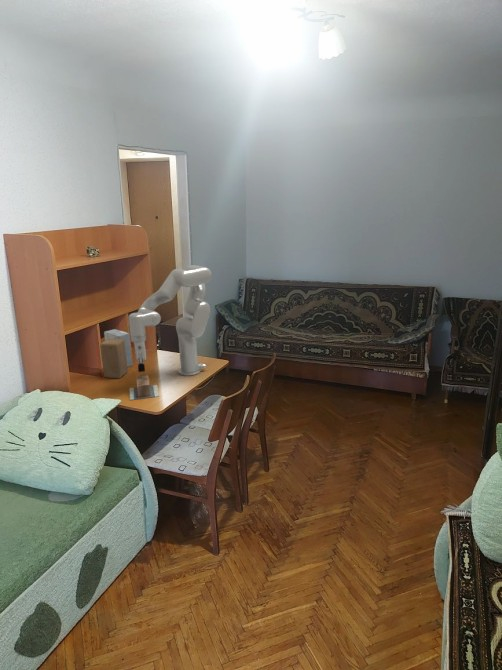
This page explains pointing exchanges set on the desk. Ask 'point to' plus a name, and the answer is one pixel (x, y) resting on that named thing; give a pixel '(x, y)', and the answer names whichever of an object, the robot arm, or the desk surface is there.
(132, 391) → the mat
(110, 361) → the wooden block
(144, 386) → the walnut block
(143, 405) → the desk surface
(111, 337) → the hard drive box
